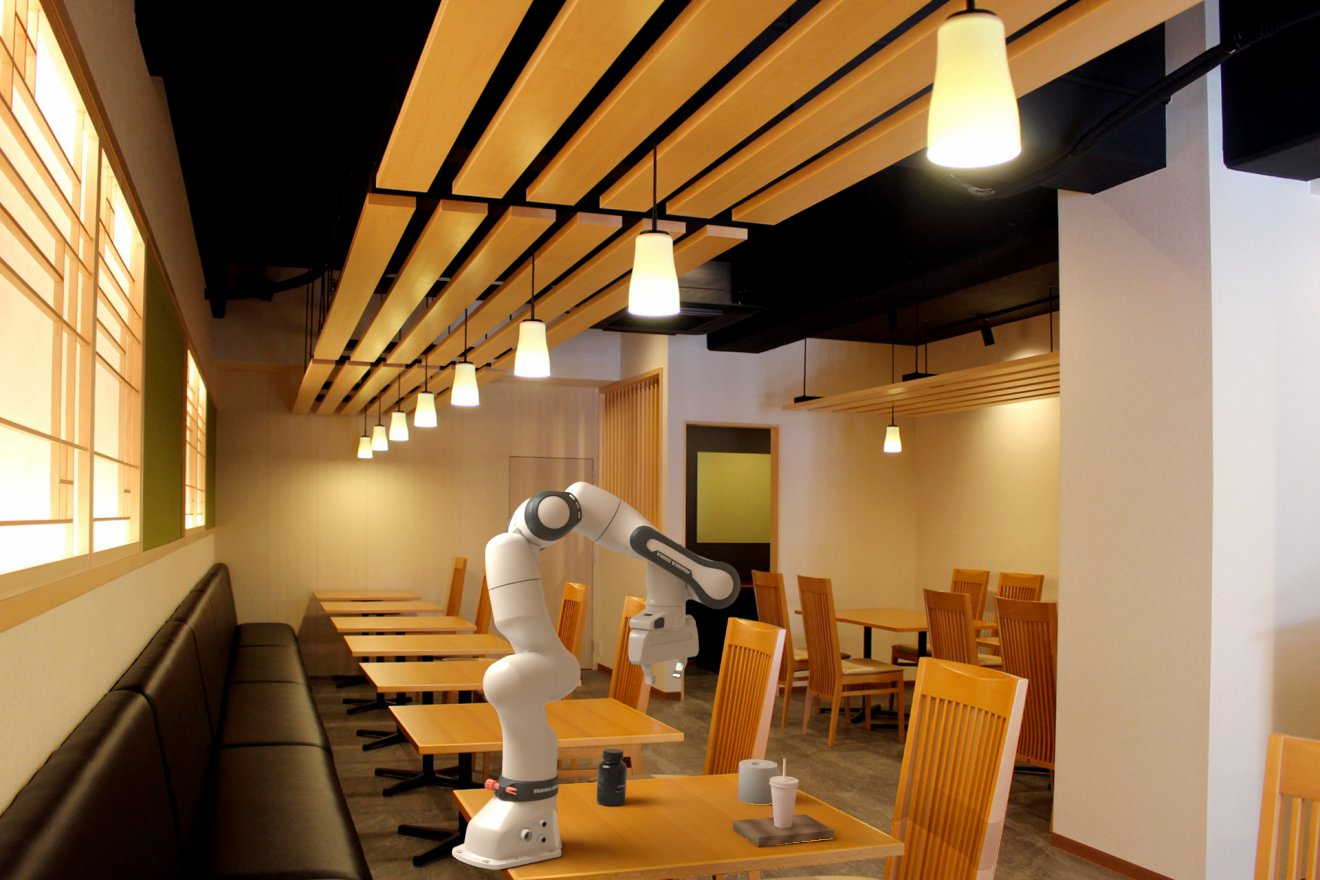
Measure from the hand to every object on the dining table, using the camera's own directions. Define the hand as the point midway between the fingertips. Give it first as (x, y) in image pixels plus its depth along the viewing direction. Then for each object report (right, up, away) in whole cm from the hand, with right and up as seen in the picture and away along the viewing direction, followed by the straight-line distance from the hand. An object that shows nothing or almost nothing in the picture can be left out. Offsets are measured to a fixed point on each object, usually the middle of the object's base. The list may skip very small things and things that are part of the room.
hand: (664, 681), depth 232 cm
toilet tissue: (+24, -34, +22) cm, 47 cm away
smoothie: (+25, -30, -5) cm, 40 cm away
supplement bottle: (-12, -32, +15) cm, 37 cm away
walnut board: (+25, -32, -5) cm, 41 cm away
